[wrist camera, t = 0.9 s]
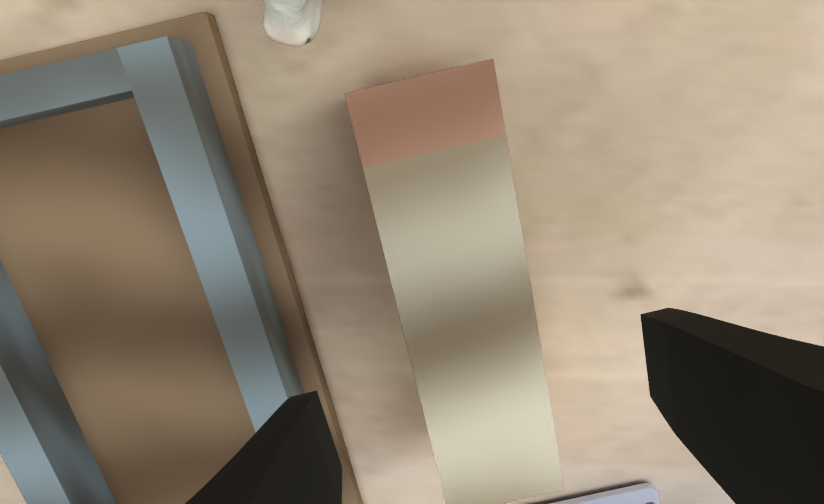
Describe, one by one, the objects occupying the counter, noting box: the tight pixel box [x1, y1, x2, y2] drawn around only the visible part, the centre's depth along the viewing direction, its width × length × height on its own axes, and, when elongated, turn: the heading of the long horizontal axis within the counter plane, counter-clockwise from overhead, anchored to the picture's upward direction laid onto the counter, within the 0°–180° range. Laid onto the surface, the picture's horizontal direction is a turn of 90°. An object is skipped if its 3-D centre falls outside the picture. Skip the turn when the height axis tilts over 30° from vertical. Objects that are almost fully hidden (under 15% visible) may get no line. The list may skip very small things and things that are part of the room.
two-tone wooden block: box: [344, 59, 565, 504], centre depth 18 cm, size 14×4×5 cm, turn 13°
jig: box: [0, 12, 363, 504], centre depth 19 cm, size 21×12×3 cm, turn 13°
